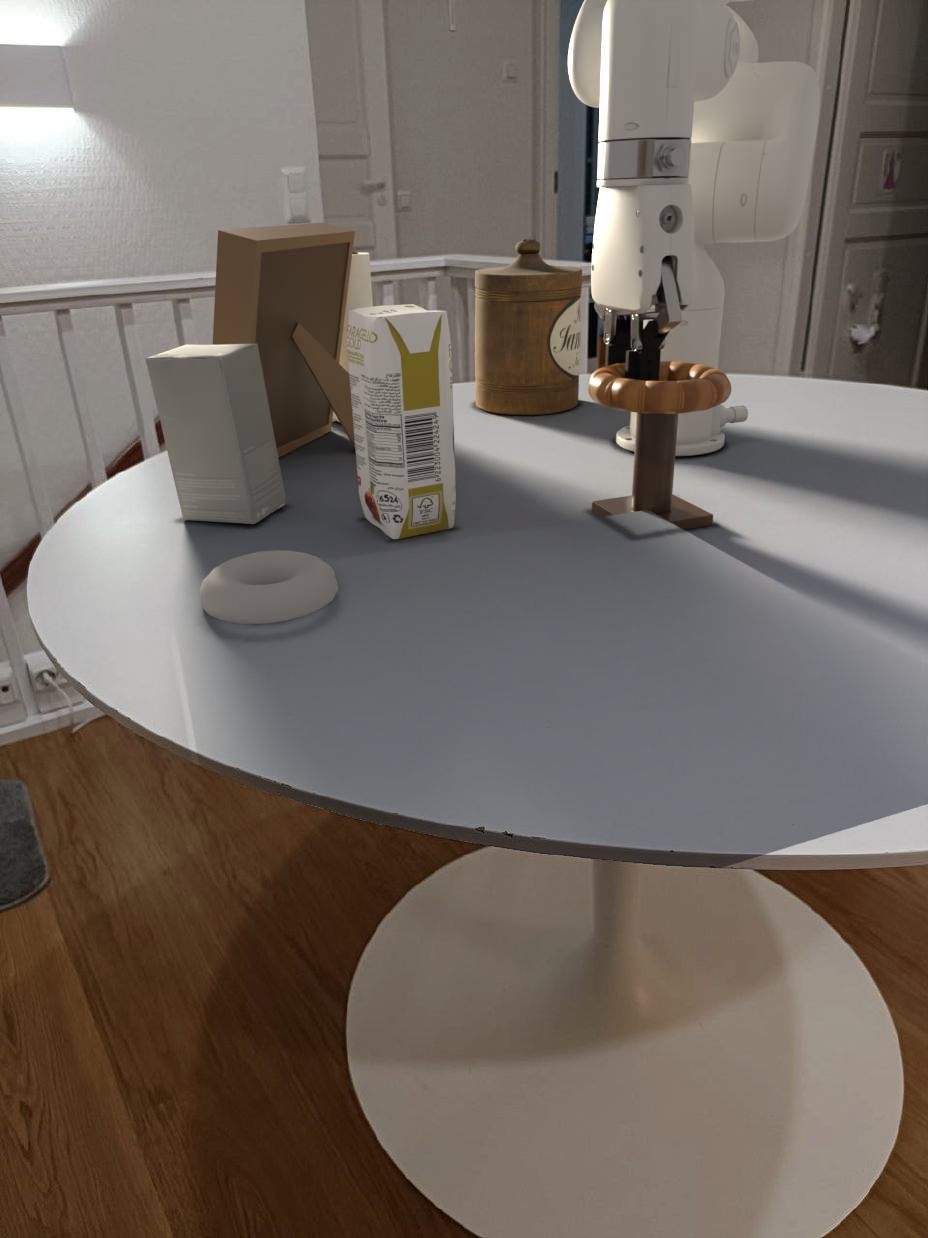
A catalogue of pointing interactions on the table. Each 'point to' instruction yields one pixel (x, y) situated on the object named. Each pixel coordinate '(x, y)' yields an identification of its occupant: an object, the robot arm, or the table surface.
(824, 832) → the table surface
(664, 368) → the ring
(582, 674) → the table surface
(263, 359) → the photo frame
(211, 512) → the cosmetic box
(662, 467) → the post
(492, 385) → the wooden container
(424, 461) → the juice carton
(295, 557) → the donut
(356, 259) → the paper towel roll
